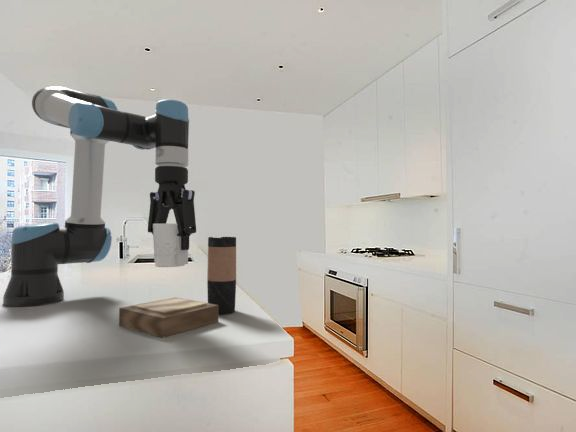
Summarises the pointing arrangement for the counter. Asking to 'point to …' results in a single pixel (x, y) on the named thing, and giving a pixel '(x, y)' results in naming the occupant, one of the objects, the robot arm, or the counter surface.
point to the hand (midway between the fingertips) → (170, 263)
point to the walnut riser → (168, 316)
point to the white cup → (165, 244)
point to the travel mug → (222, 273)
